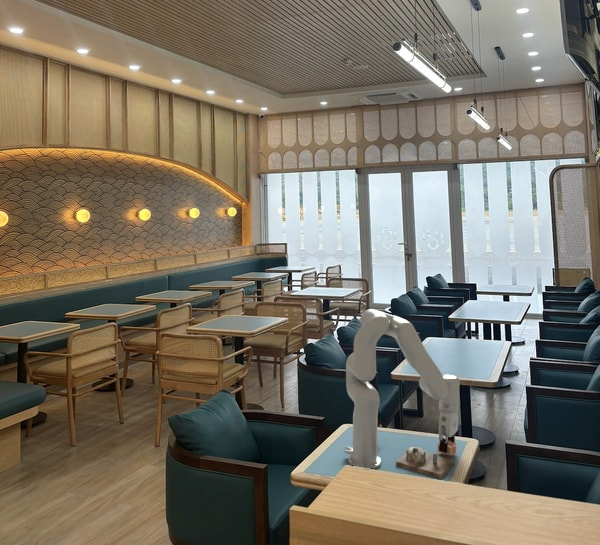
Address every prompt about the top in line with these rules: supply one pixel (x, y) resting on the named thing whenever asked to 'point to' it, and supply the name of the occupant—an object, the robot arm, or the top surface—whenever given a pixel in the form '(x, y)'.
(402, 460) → the gear board
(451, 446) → the terracotta gear
